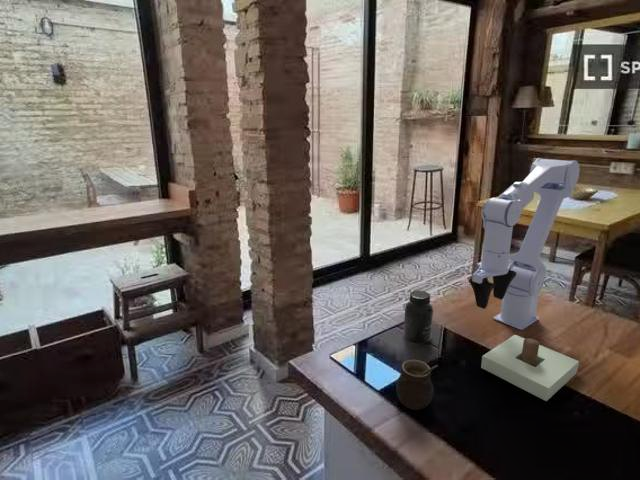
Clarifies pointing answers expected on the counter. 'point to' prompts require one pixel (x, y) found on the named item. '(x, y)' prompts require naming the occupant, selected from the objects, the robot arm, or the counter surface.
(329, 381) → the counter surface
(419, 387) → the mate gourd
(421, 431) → the counter surface
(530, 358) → the dowel
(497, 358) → the socket block
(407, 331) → the supplement bottle
